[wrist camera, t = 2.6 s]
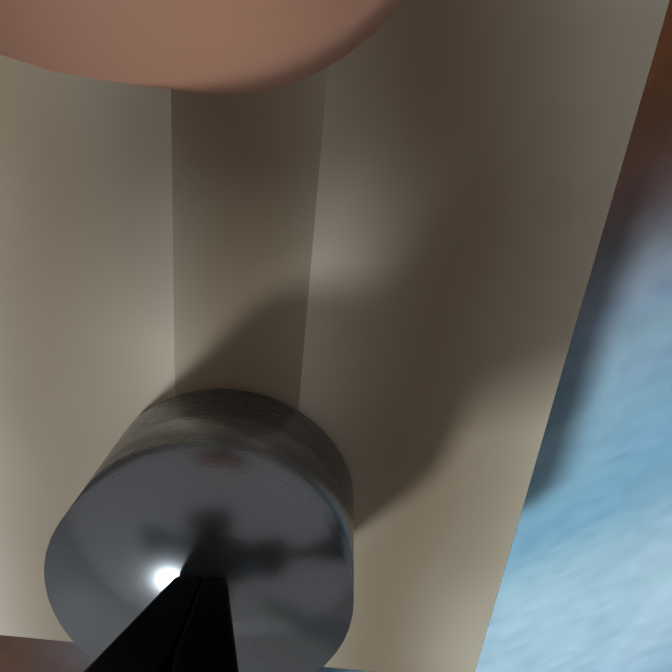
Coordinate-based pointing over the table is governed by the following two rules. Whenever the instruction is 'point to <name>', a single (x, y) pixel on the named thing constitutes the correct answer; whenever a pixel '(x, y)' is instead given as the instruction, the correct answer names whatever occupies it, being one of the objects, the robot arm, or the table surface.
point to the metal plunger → (214, 528)
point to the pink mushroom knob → (189, 39)
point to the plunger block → (322, 284)
